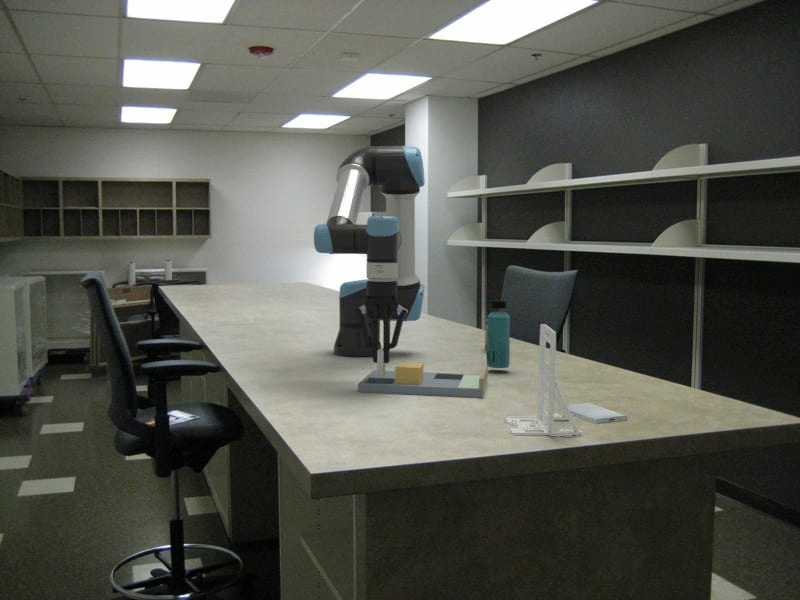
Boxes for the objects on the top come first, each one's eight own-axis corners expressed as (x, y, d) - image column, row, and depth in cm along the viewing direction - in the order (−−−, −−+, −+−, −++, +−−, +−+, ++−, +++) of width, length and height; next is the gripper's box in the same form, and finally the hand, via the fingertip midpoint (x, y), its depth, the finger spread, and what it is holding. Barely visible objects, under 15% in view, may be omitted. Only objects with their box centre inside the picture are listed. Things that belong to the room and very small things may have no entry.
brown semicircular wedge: (507, 354, 236) (508, 323, 236) (488, 354, 237) (488, 323, 236) (503, 348, 249) (503, 319, 248) (484, 348, 249) (485, 318, 248)
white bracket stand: (502, 417, 157) (504, 323, 155) (568, 418, 156) (571, 323, 154) (510, 436, 142) (512, 332, 140) (583, 437, 142) (587, 333, 140)
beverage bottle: (512, 370, 210) (514, 299, 208) (505, 374, 204) (507, 301, 202) (490, 368, 212) (491, 298, 210) (482, 372, 206) (484, 300, 204)
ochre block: (395, 383, 181) (395, 366, 180) (399, 378, 187) (399, 362, 186) (419, 384, 180) (419, 367, 179) (423, 379, 186) (423, 363, 185)
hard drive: (559, 405, 163) (596, 418, 152) (589, 402, 167) (627, 414, 156) (559, 413, 164) (596, 426, 152) (589, 409, 167) (627, 422, 156)
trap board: (358, 391, 180) (358, 373, 180) (373, 377, 198) (373, 360, 197) (483, 397, 175) (483, 378, 175) (487, 382, 193) (487, 365, 192)
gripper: (352, 280, 179) (351, 377, 181) (405, 281, 176) (404, 380, 178) (359, 278, 186) (358, 372, 188) (410, 279, 184) (409, 374, 186)
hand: (381, 375), depth 183 cm, fingers closed
